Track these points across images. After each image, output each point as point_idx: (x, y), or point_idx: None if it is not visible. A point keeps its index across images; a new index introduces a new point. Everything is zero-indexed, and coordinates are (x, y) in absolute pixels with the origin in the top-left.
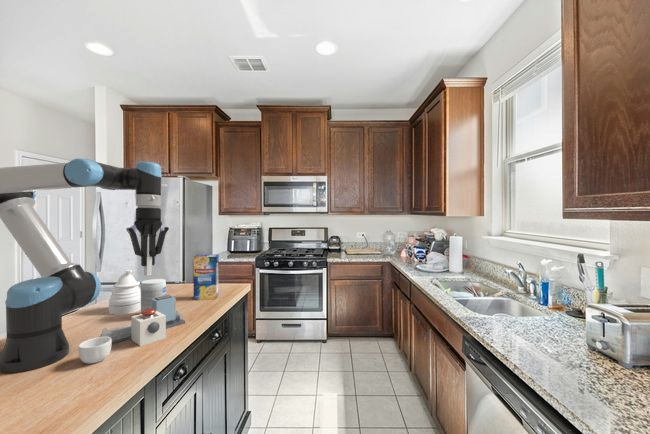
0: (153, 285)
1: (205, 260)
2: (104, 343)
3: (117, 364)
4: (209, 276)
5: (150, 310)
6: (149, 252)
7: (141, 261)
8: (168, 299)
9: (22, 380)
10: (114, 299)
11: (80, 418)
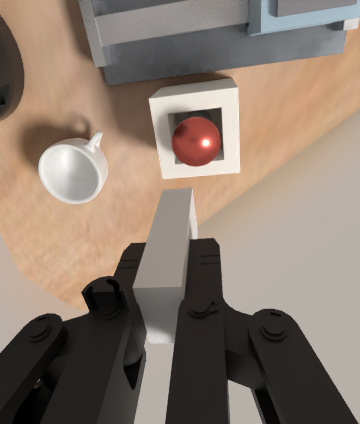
0: None
1: None
2: (88, 198)
3: (123, 209)
4: None
5: (200, 147)
6: (178, 338)
7: (117, 274)
8: (324, 21)
9: None
10: None
11: (86, 304)
